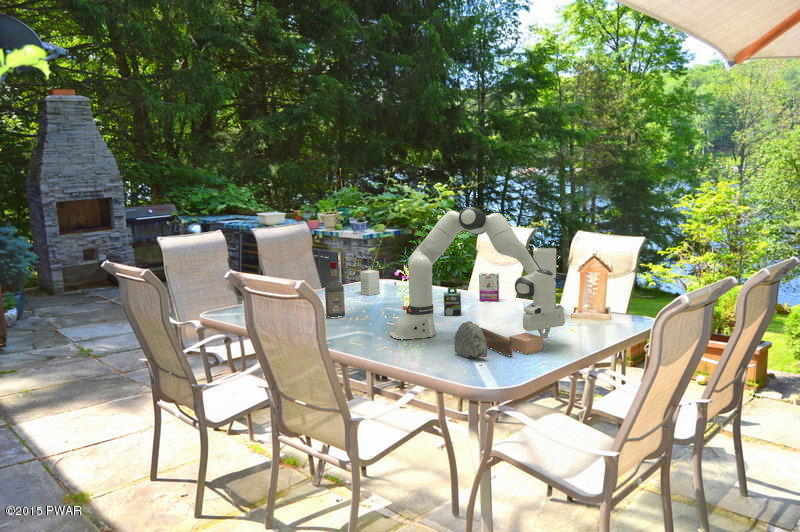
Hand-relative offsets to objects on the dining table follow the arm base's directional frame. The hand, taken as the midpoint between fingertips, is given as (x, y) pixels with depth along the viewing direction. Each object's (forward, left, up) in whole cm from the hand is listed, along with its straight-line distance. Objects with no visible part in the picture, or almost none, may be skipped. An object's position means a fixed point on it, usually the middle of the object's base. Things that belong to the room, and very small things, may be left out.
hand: (544, 338), depth 274 cm
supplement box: (-20, +152, -4) cm, 153 cm away
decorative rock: (-35, +3, -4) cm, 36 cm away
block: (-10, 0, -4) cm, 11 cm away
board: (-21, +7, -4) cm, 23 cm away
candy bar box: (+32, +93, -4) cm, 98 cm away
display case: (+36, +46, -4) cm, 58 cm away
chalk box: (-3, +75, -4) cm, 75 cm away
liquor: (-60, +104, -4) cm, 120 cm away
